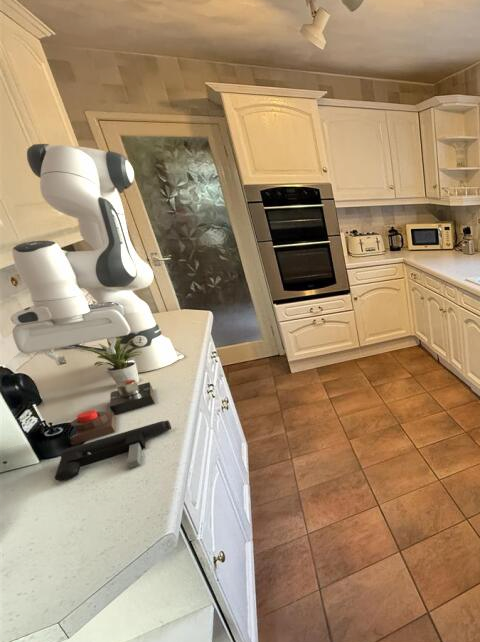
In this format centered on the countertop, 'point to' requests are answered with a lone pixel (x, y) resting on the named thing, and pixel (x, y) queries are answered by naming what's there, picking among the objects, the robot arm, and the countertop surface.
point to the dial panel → (132, 400)
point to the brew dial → (127, 388)
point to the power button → (87, 416)
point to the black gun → (108, 449)
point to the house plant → (120, 362)
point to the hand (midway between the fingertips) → (88, 358)
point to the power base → (94, 427)
